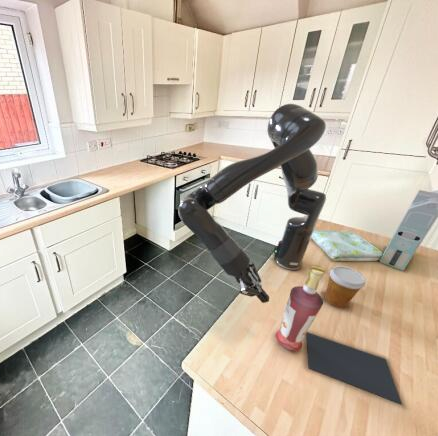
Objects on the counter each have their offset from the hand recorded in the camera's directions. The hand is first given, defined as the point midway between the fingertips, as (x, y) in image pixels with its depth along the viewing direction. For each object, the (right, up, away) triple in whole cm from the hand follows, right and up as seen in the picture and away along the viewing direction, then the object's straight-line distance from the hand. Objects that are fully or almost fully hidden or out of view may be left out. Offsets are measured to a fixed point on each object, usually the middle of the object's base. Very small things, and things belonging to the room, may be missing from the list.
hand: (266, 300), depth 69 cm
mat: (+21, -16, -3) cm, 27 cm away
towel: (+56, +9, +42) cm, 70 cm away
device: (+73, +6, +36) cm, 82 cm away
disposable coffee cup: (+32, -6, +16) cm, 37 cm away
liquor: (+8, -14, +3) cm, 16 cm away
